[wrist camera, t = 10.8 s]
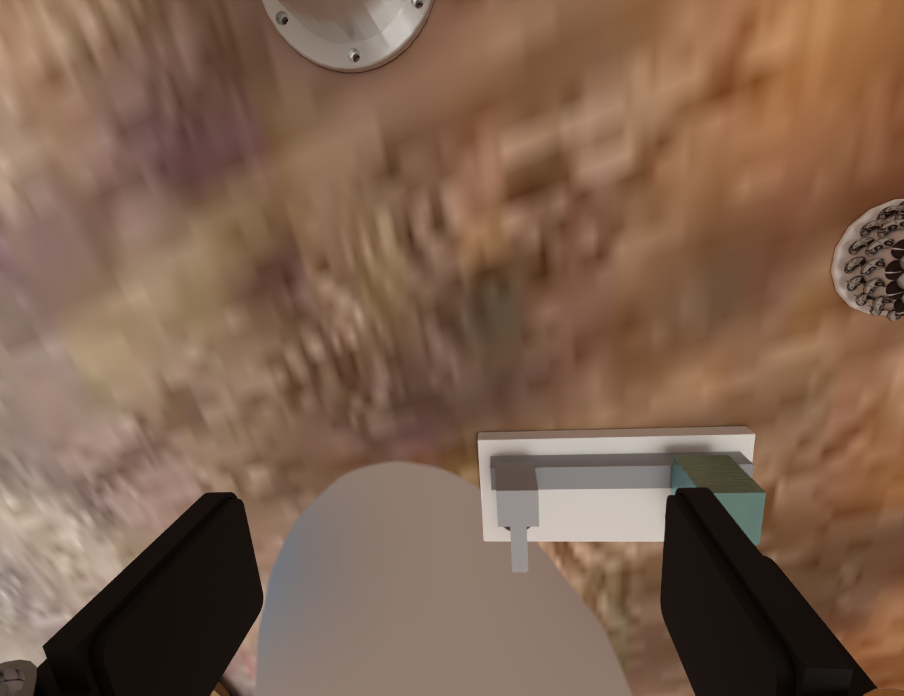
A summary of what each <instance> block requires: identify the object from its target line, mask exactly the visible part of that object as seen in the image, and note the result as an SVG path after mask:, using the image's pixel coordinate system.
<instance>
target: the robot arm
mask: <svg viewBox="0 0 904 696" xmlns="http://www.w3.org/2000/svg"><path fill="white" fill-rule="evenodd" d="M261 1H262V3H263V6H264V8H265V11H266V13H267V15H268V17H269V18H270V20H271V22H272V23H273V25H274V26H275V28H276V30H277V31H278V32H279V33H280V35H281V36H282V37H283V38H284V39H285V40H286V41H287V43H288V44H289V45H290V46H292V47H293V48H294V49H295V50H296V51H297V52H298V53H300V54H301V55H302V56H304V57H305V58H307V59H309V60H310V61H312V62H313V63H315V64H317V65H320V66H322V67H325V68H327V69H330V70H334V71H340V72H347V73H348V72H364V71H367V70H371V69H374V68H378V67H380V66H382V65H384V64H386V63H388V62H390V61H391V60H393V59H395V58H396V57H397V56H398V55H400V54H401V53H402V52H403V51H404V50H406V49H407V48H408V47H409V45H410V44H411V43H412V42H413V41H414V39H415V38H416V37H417V36H418V34H419V33H420V31H421V29H422V28H423V26H424V24H425V22H426V20H427V19H428V17H429V14H430V11H431V8H432V5H433V2H434V0H261ZM419 3H422V4H423V6H422V7H421V8H419V9H417V8H416V6H417V4H419ZM286 20H288V22H287V24H285V21H286ZM356 56H360V59H359V60H358V61H357V62H355V61H354V59H355V57H356ZM660 603H661V610H662V615H663V619H664V621H665V624H666V626H667V629H668V631H669V633H670V636H671V638H672V641H673V643H674V645H675V648H676V650H677V652H678V655H679V657H680V660H681V662H682V664H683V667H684V669H685V672H686V674H687V676H688V679H689V681H690V683H691V686H692V688H693V691H694V693H695V695H696V696H904V690H899V689H894V688H882V689H878V688H877V687H876V686H875V684H874V683H873V682H872V681H871V680H870V678H869V677H868V676H867V675H866V673H865V672H864V671H863V670H862V668H861V667H860V666H859V665H858V664H857V662H856V661H855V660H854V659H853V657H852V656H851V655H850V654H849V652H848V651H847V650H846V649H845V648H844V646H843V645H842V644H841V643H840V641H839V640H838V639H837V638H836V637H835V635H834V634H833V633H832V632H831V630H830V629H829V628H828V627H827V625H826V624H825V623H824V622H823V621H822V619H821V618H820V617H819V616H818V614H817V613H816V612H815V611H814V610H813V608H812V607H811V606H810V605H809V603H808V602H807V601H806V600H805V598H804V597H803V596H802V595H801V594H800V592H799V591H798V590H797V589H796V587H795V586H794V585H793V584H792V582H791V581H790V580H789V579H788V578H787V576H786V575H785V574H784V573H783V571H782V570H781V569H780V568H779V567H778V565H777V564H776V563H775V562H774V561H773V560H772V559H771V558H769V557H766V556H763V555H762V554H761V553H760V552H759V550H758V549H757V548H756V547H755V545H754V544H753V543H752V541H751V540H750V539H749V538H748V536H747V535H746V534H745V533H744V531H743V530H742V529H741V528H740V526H739V525H738V524H737V523H736V521H735V520H734V519H733V518H732V516H731V515H730V514H729V513H728V511H727V510H726V509H725V507H724V506H723V505H722V504H721V502H720V501H719V500H718V499H717V497H716V496H715V495H714V494H713V492H712V491H711V490H710V489H709V488H706V487H689V488H677V489H676V492H675V495H668V497H667V500H666V515H665V532H664V548H663V565H662V582H661V598H660ZM262 605H263V591H262V586H261V581H260V577H259V572H258V568H257V563H256V558H255V554H254V549H253V545H252V540H251V535H250V531H249V526H248V522H247V517H246V512H245V508H244V504H243V501H242V500H241V499H237V496H236V495H235V494H234V493H232V492H212V493H206V494H204V495H203V496H201V497H200V498H199V499H198V500H197V501H196V502H195V503H194V504H193V505H192V506H191V507H190V508H189V509H188V510H187V511H186V512H184V513H183V514H182V515H181V516H180V517H179V518H178V519H177V520H176V521H175V522H174V523H173V524H172V525H171V526H170V527H169V528H167V529H166V530H165V531H164V532H163V533H162V534H161V535H160V536H159V537H158V538H157V539H156V540H155V541H154V542H153V543H152V544H151V545H149V546H148V547H147V548H146V549H145V550H144V551H143V552H142V553H141V554H140V555H139V556H138V557H137V558H136V559H135V560H134V561H132V562H131V563H130V564H129V565H128V566H127V567H126V568H125V569H124V570H123V571H122V572H121V573H120V574H119V575H118V576H117V577H116V578H114V579H113V580H112V581H111V582H110V583H109V584H108V585H107V586H106V587H105V588H104V589H103V590H102V591H101V592H100V593H99V594H97V595H96V596H95V597H94V598H93V599H92V600H91V601H90V602H89V603H88V604H87V605H86V606H85V607H84V608H83V609H82V610H80V611H79V612H78V613H77V614H76V615H75V616H74V617H73V618H72V619H71V620H70V621H69V622H68V623H67V624H66V625H65V626H64V627H62V628H61V629H60V630H59V631H58V632H57V633H56V634H55V635H54V636H53V637H52V638H51V639H50V640H49V641H48V642H47V643H45V644H44V645H43V649H44V651H45V654H46V657H47V659H46V660H45V661H44V662H43V663H42V664H41V665H40V666H39V667H38V668H37V667H36V666H35V665H34V664H33V663H32V662H31V661H26V660H14V661H8V662H4V663H1V664H0V696H210V695H211V693H212V692H213V690H214V688H215V687H216V685H217V683H218V682H219V680H220V678H221V677H222V675H223V673H224V672H225V670H226V668H227V667H228V665H229V663H230V662H231V660H232V658H233V657H234V655H235V653H236V652H237V650H238V648H239V647H240V645H241V643H242V642H243V640H244V638H245V637H246V635H247V633H248V632H249V630H250V628H251V627H252V625H253V623H254V622H255V620H256V618H257V617H258V615H259V613H260V611H261V608H262Z"/></svg>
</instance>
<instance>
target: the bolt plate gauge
mask: <svg viewBox="0 0 904 696" xmlns="http://www.w3.org/2000/svg"><path fill="white" fill-rule="evenodd" d="M754 441H755V433H753V432H752V431H751V430H750V429H748V428H747V427H746V426H724V427H682V428H640V429H598V430H556V431H514V432H478V453H479V470H480V486H481V502H482V519H483V534H484V541H511V556H512V572H528V549H527V541H645V542H664V532H665V515H666V500H667V497H668V495H671V481H672V465H673V456H691V455H729V456H730V457H731V458H732V459H733V460H734V461H735V462H736V463H737V464H738V465H739V466H740V467H741V468H742V469H743V470H744V471H745V472H746V473H747V474H748V475H749V476H750V477H751V478H752V473H753V465H754V464H753V463H752V459H753V450H754Z"/></svg>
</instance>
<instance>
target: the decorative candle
mask: <svg viewBox="0 0 904 696" xmlns="http://www.w3.org/2000/svg"><path fill="white" fill-rule="evenodd" d="M831 275H832V279H833V283H834V286H835V290H836V292H837V293H838V294H839V296H840V297H841V298H842V299H843V300H844V301H845V302H846V303H847V304H848V305H849V307H852V308H854V309H857V310H859V311H862V312H864V313H867V314H870V315H873V316H879V315H887V318H888V319H889V320H890V321H896V320H898V319H900V317H901V316H904V199H893V200H891V201H888V202H886V203H884V204H881V205H879V206H876V207H874V208H871V209H869V210H868V211H866V212H865V213H864V214H863V215H862V216H860V217H859V218H858V219H857V220H856V221H854V222H853V223H852V224H851V225H850V226H848V228H847V229H846V231H845V233H844V234H843V236H842V238H841V239H840V241H839V242H838V244H837V246H836V247H835V250H834V255H833V261H832V266H831Z"/></svg>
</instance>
